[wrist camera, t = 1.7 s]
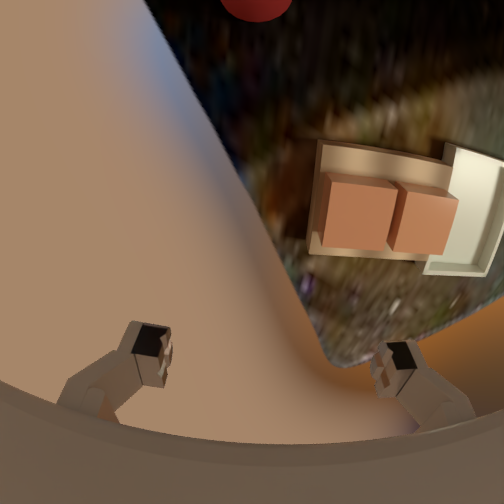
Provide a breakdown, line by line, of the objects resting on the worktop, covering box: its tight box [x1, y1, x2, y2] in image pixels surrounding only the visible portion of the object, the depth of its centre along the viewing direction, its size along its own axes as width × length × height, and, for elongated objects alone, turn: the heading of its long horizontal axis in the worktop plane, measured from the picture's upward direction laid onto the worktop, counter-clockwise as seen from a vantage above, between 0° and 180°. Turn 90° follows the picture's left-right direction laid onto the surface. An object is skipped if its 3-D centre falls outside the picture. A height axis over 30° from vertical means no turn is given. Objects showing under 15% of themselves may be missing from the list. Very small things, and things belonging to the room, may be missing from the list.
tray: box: [415, 142, 504, 277], centre depth 29 cm, size 11×15×2 cm
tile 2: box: [386, 181, 459, 255], centre depth 26 cm, size 6×6×3 cm
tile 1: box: [317, 172, 398, 251], centre depth 26 cm, size 6×6×3 cm
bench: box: [306, 139, 453, 261], centre depth 29 cm, size 14×11×3 cm
